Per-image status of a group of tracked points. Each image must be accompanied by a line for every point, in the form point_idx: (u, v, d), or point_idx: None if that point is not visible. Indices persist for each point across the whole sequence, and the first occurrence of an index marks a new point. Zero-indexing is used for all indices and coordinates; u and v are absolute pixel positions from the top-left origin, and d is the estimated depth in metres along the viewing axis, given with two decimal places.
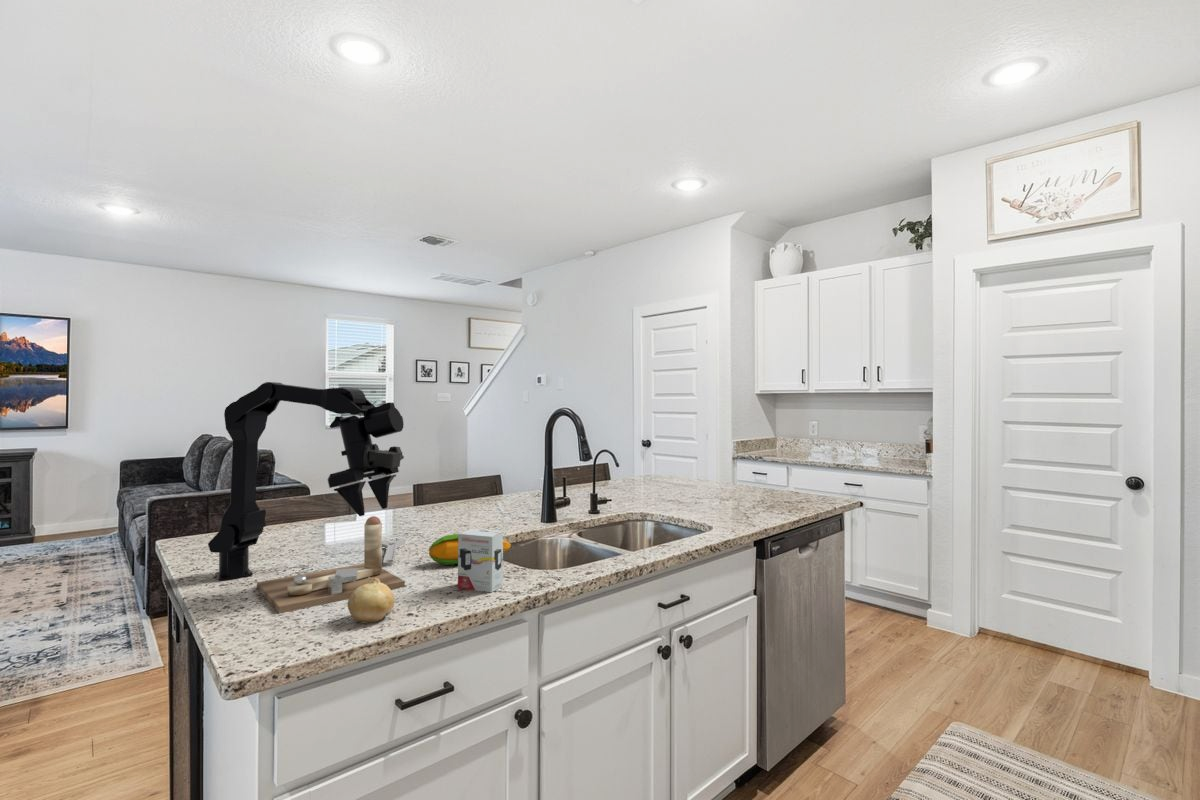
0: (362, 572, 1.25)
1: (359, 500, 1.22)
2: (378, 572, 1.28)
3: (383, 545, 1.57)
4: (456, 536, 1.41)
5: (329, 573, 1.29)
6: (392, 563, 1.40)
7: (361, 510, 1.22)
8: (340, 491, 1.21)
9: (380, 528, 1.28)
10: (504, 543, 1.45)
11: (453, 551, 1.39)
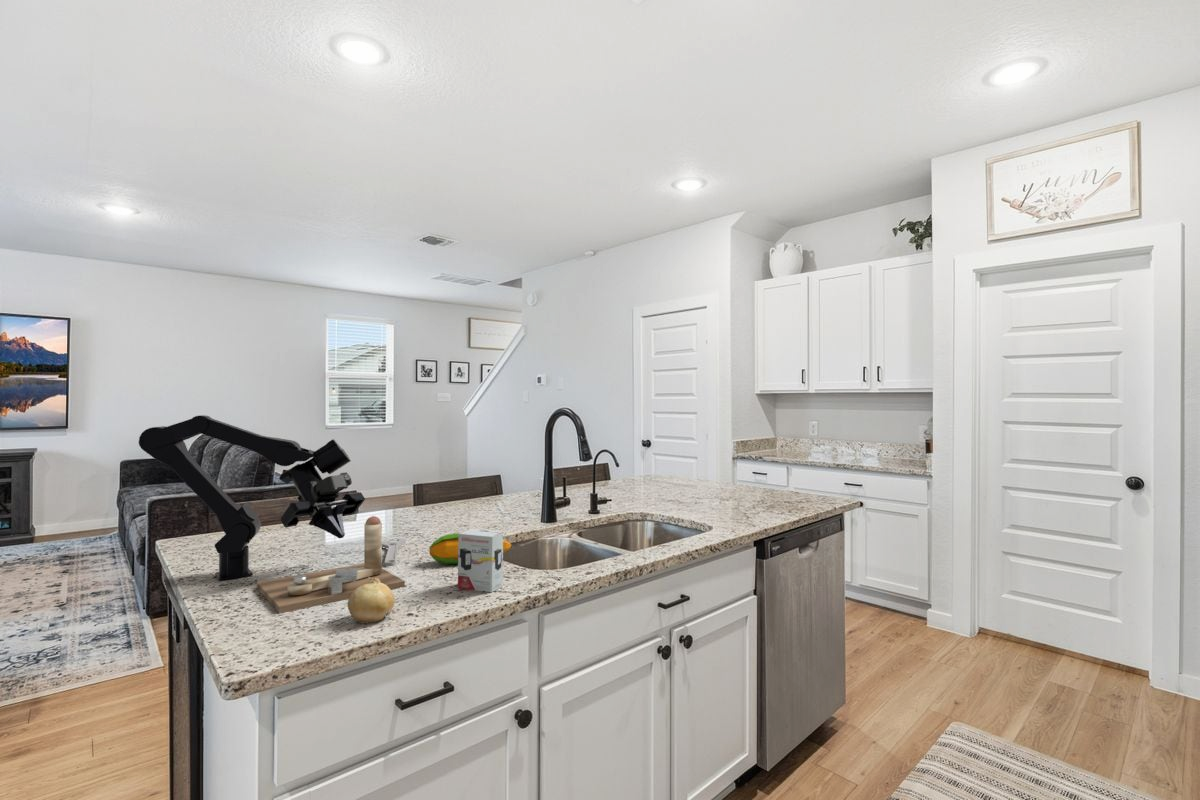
0: (362, 572, 1.25)
1: (332, 524, 1.31)
2: (378, 572, 1.28)
3: (384, 545, 1.57)
4: (456, 535, 1.41)
5: (329, 573, 1.29)
6: (394, 563, 1.40)
7: (338, 532, 1.31)
8: (316, 524, 1.32)
9: (380, 528, 1.28)
10: (504, 543, 1.45)
11: (452, 550, 1.40)
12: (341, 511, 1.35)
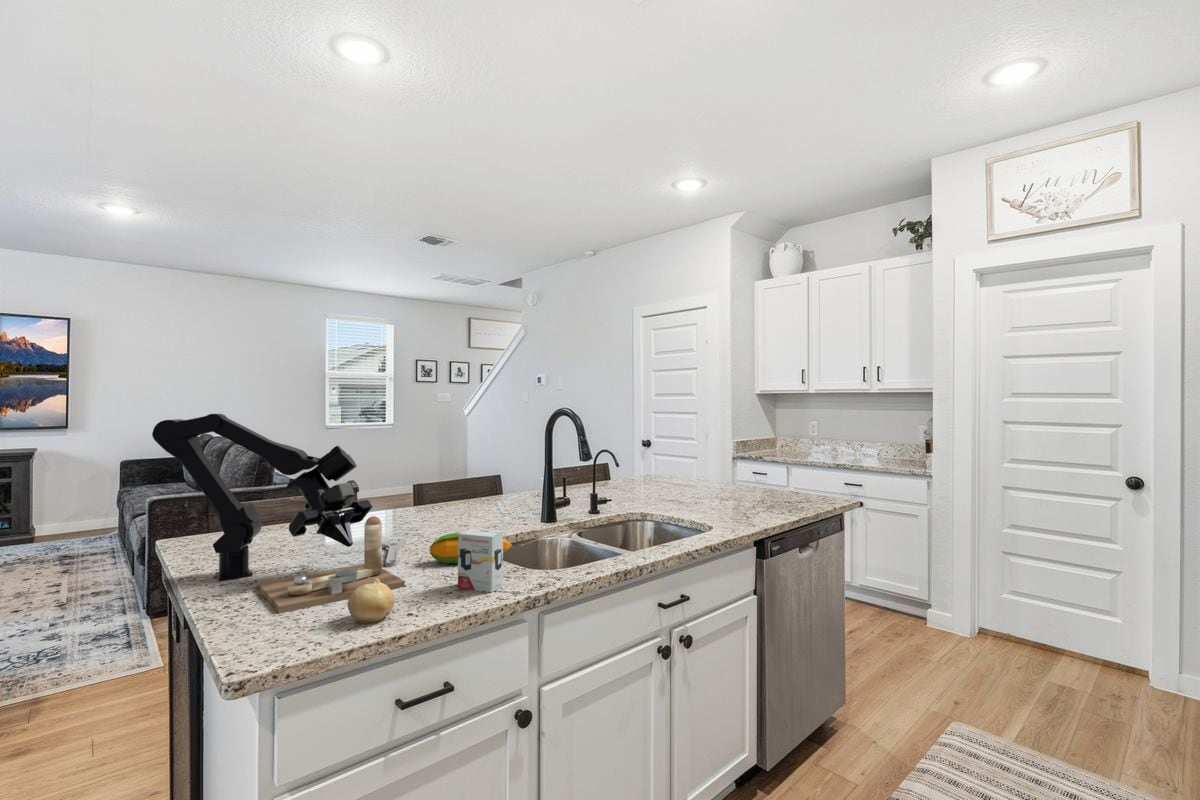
0: (362, 572, 1.25)
1: (340, 532, 1.30)
2: (378, 572, 1.28)
3: (385, 545, 1.57)
4: (456, 535, 1.42)
5: (329, 573, 1.29)
6: (395, 563, 1.40)
7: (346, 540, 1.30)
8: (324, 532, 1.31)
9: (380, 528, 1.28)
10: (504, 543, 1.45)
11: (452, 549, 1.40)
12: (349, 519, 1.34)
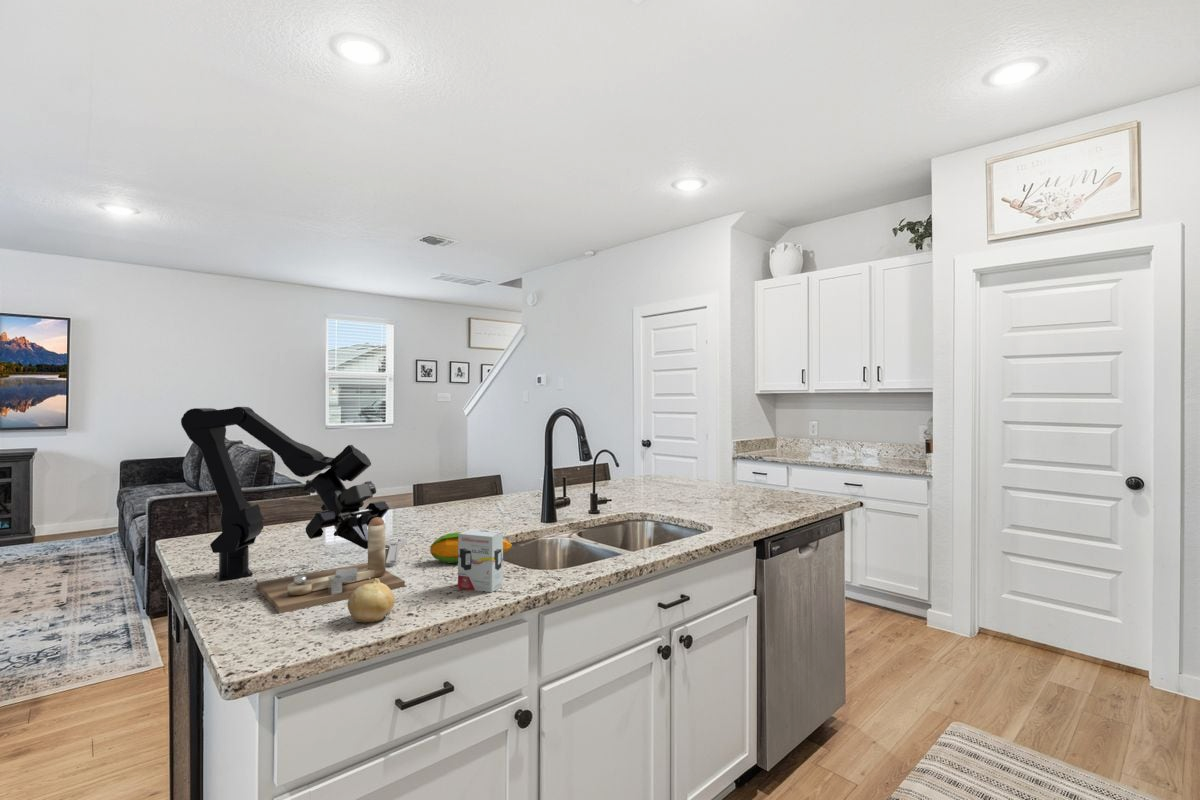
0: (364, 573, 1.24)
1: (357, 534, 1.28)
2: (381, 573, 1.27)
3: (385, 545, 1.56)
4: (456, 535, 1.42)
5: (329, 573, 1.29)
6: (395, 564, 1.40)
7: (364, 543, 1.28)
8: (341, 534, 1.29)
9: (383, 529, 1.27)
10: (504, 543, 1.45)
11: (452, 549, 1.41)
12: (366, 521, 1.31)
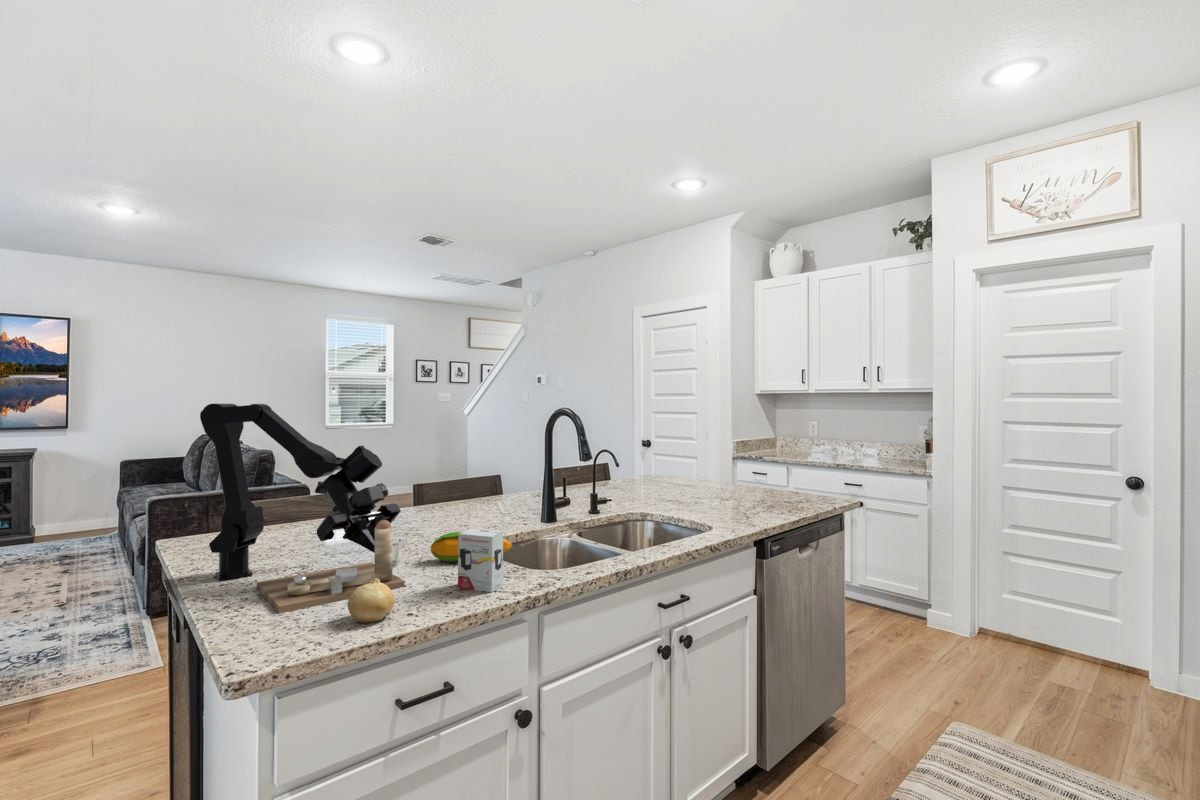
0: (367, 577, 1.21)
1: (367, 538, 1.25)
2: (386, 578, 1.23)
3: None
4: (456, 534, 1.43)
5: (329, 573, 1.29)
6: (396, 564, 1.39)
7: (373, 546, 1.25)
8: (350, 537, 1.26)
9: (389, 533, 1.24)
10: (505, 543, 1.45)
11: (452, 548, 1.41)
12: None
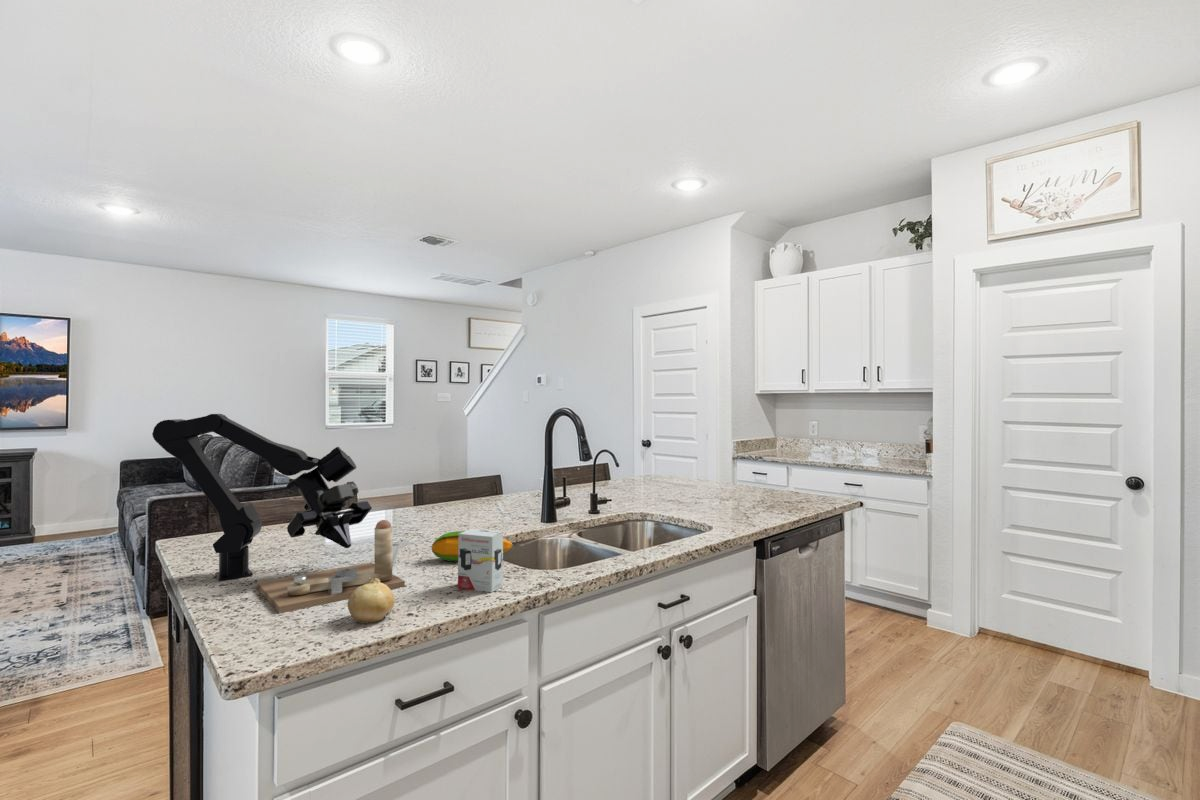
0: (367, 577, 1.21)
1: (338, 533, 1.30)
2: (386, 578, 1.23)
3: None
4: (457, 533, 1.44)
5: (329, 573, 1.29)
6: (392, 564, 1.39)
7: (344, 542, 1.30)
8: (322, 533, 1.31)
9: (389, 533, 1.24)
10: (505, 543, 1.45)
11: (452, 548, 1.42)
12: (347, 520, 1.33)
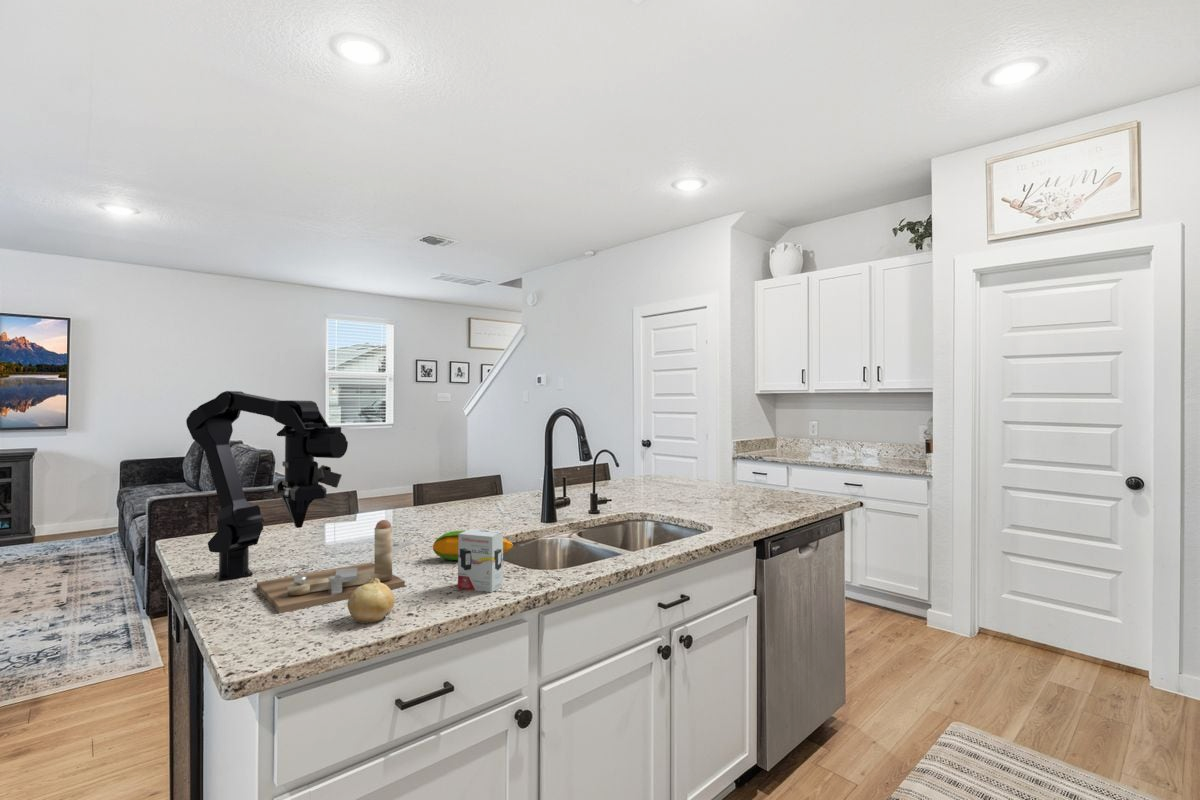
0: (367, 577, 1.21)
1: (305, 512, 1.28)
2: (386, 578, 1.23)
3: None
4: (457, 533, 1.44)
5: (329, 573, 1.29)
6: None
7: (302, 522, 1.28)
8: (290, 502, 1.25)
9: (389, 533, 1.24)
10: (505, 543, 1.45)
11: (452, 547, 1.43)
12: None
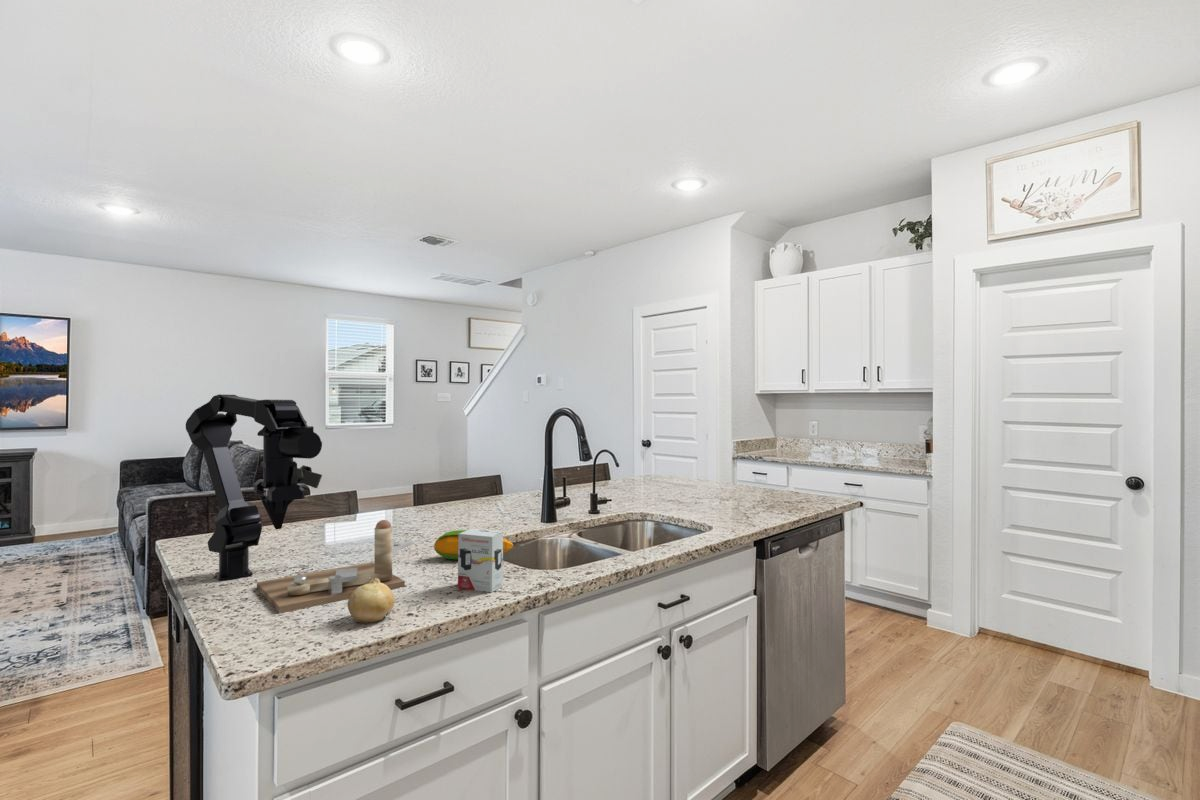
0: (367, 577, 1.21)
1: (284, 513, 1.25)
2: (386, 578, 1.23)
3: None
4: (458, 532, 1.45)
5: (329, 573, 1.29)
6: None
7: (281, 523, 1.26)
8: (269, 503, 1.23)
9: (389, 533, 1.24)
10: (505, 543, 1.45)
11: (453, 546, 1.43)
12: None
